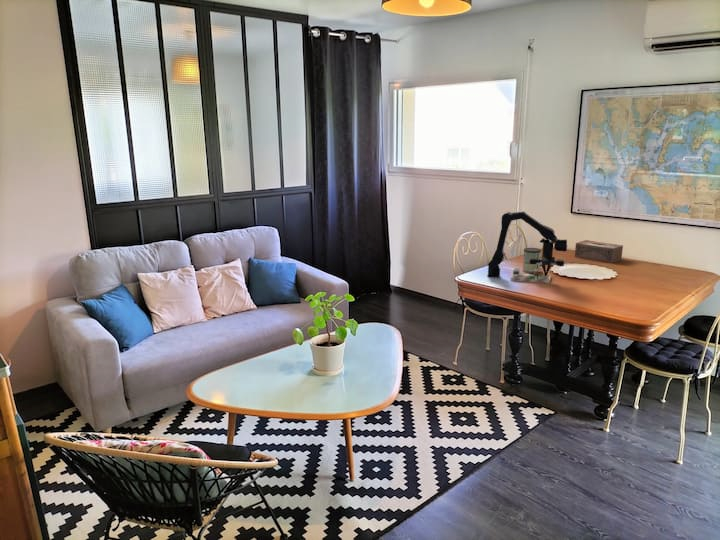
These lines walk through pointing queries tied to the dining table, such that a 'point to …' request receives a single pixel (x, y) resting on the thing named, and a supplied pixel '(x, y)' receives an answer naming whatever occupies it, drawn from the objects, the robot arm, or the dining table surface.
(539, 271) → the gauge carriage
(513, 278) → the base
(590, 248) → the tissue box cover
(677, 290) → the dining table surface
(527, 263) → the coffee can
